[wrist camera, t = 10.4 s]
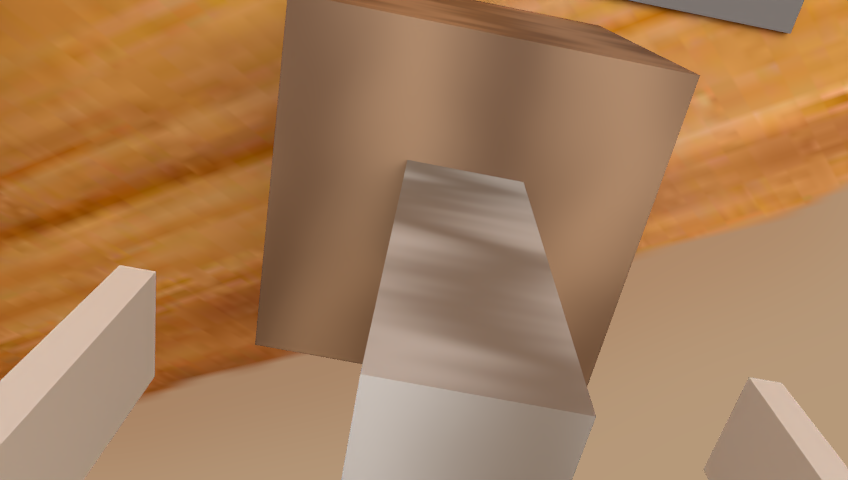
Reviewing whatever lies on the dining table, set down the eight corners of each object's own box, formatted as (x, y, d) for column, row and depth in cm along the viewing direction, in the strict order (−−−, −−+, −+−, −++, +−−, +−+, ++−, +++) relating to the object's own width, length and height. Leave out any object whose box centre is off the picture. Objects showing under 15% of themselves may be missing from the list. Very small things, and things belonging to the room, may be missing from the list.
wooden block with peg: (325, 205, 38) (99, 653, 14) (355, -24, 33) (76, 41, 9) (535, 245, 39) (678, 747, 14) (599, 25, 34) (999, 223, 9)
